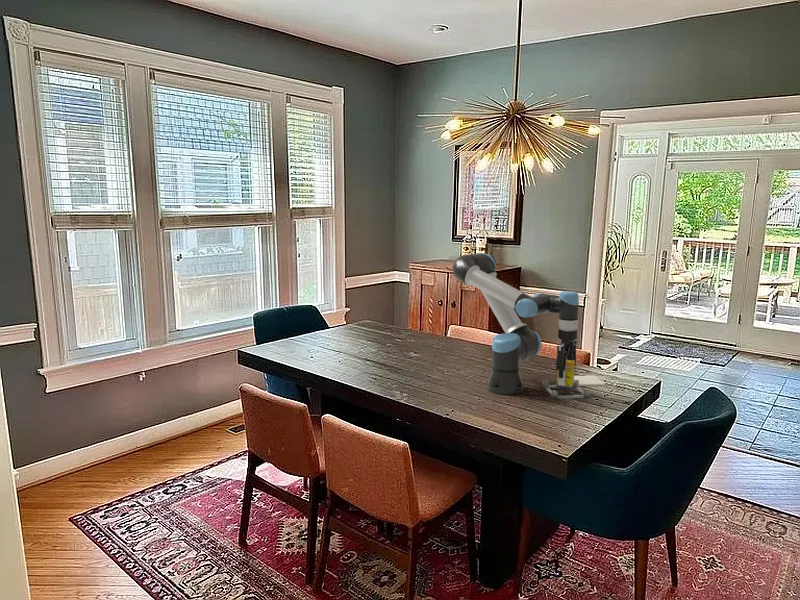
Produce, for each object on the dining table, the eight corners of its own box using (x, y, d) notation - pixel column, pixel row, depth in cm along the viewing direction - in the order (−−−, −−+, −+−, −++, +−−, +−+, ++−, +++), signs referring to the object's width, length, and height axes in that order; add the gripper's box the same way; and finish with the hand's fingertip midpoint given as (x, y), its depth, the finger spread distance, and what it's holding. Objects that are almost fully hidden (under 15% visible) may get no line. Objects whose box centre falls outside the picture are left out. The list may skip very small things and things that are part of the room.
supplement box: (556, 387, 228) (557, 362, 226) (559, 383, 233) (560, 358, 231) (571, 389, 225) (572, 363, 223) (573, 385, 230) (575, 360, 228)
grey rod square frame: (552, 399, 222) (552, 392, 221) (542, 387, 237) (542, 380, 236) (590, 398, 222) (590, 391, 221) (577, 386, 237) (577, 379, 237)
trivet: (577, 386, 237) (577, 384, 237) (568, 377, 249) (568, 376, 249) (605, 385, 238) (605, 383, 237) (595, 377, 249) (595, 375, 249)
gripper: (565, 334, 215) (563, 390, 219) (586, 326, 230) (583, 379, 234) (548, 332, 220) (546, 386, 224) (569, 324, 235) (567, 375, 238)
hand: (565, 382), depth 229 cm, fingers closed on supplement box, 7 cm apart
